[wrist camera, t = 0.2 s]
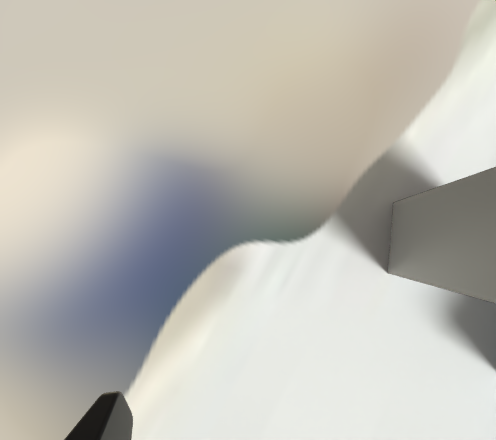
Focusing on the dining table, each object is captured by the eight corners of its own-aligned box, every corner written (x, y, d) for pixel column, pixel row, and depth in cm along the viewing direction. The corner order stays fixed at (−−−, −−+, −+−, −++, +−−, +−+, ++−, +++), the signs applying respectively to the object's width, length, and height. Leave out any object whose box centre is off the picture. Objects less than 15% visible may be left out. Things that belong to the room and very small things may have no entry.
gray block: (461, 280, 23) (694, 329, 10) (387, 273, 23) (523, 310, 10) (466, 209, 23) (702, 166, 10) (393, 202, 24) (533, 153, 11)
